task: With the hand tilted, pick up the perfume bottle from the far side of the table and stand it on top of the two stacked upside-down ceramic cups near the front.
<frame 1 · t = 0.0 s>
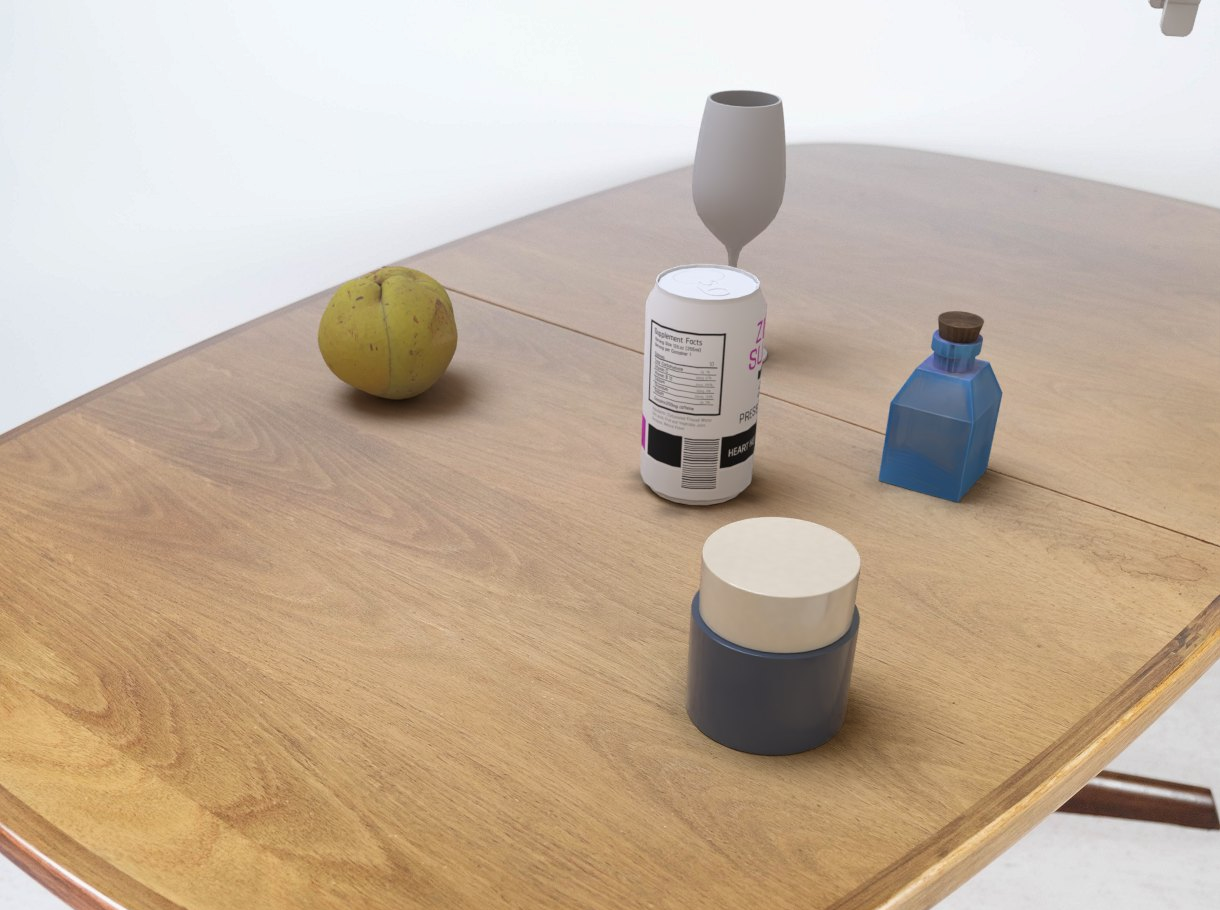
hand: (1167, 20, 84), 30 cm above the table, tool pointing down, fingers open, 8 cm apart
fruit: (395, 395, 110), on the table
wineglass: (726, 355, 118), on the table
perfume bottle: (932, 477, 100), on the table
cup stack: (764, 705, 77), on the table
supplement can: (695, 485, 99), on the table
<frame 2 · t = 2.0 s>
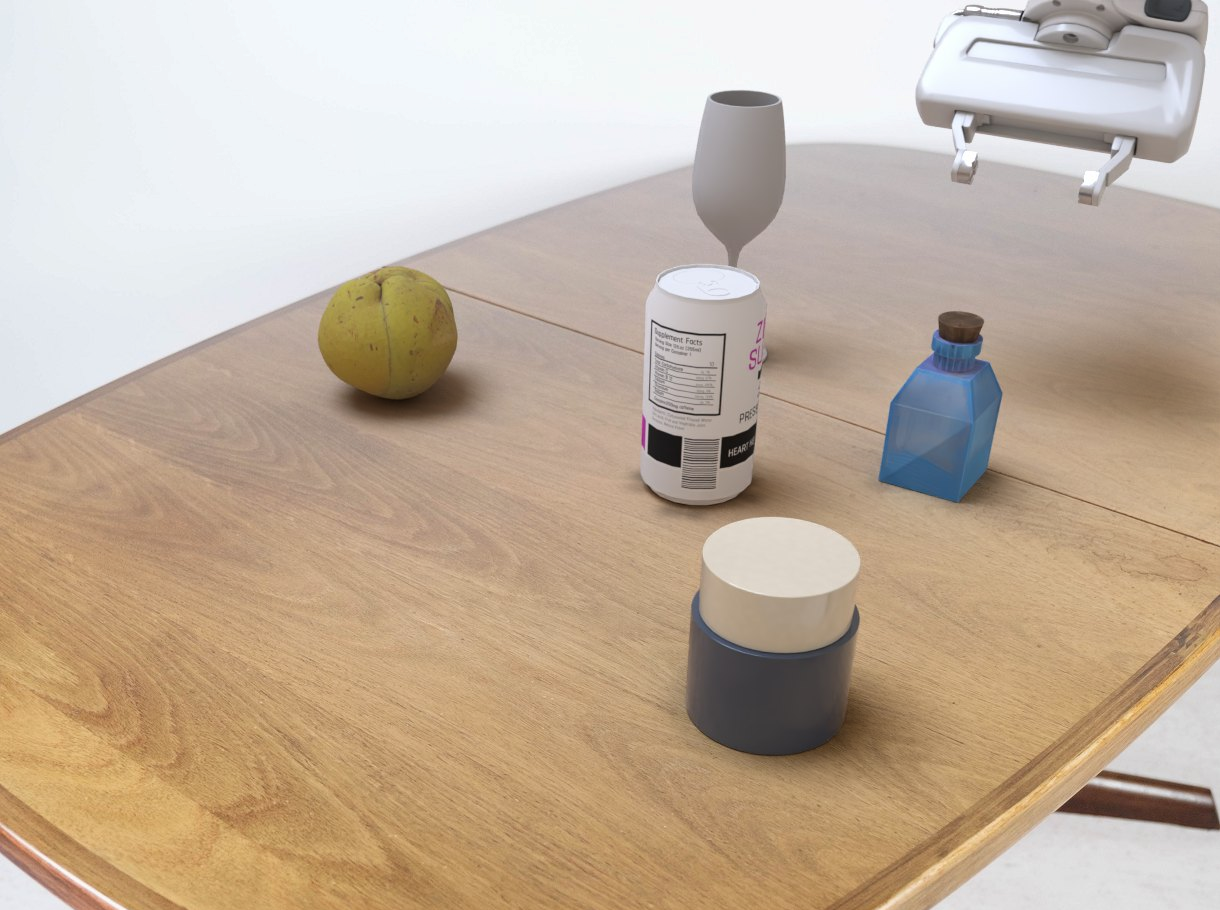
hand: (1023, 190, 98), 18 cm above the table, tool tilted 45°, fingers open, 8 cm apart
nothing on the table moved.
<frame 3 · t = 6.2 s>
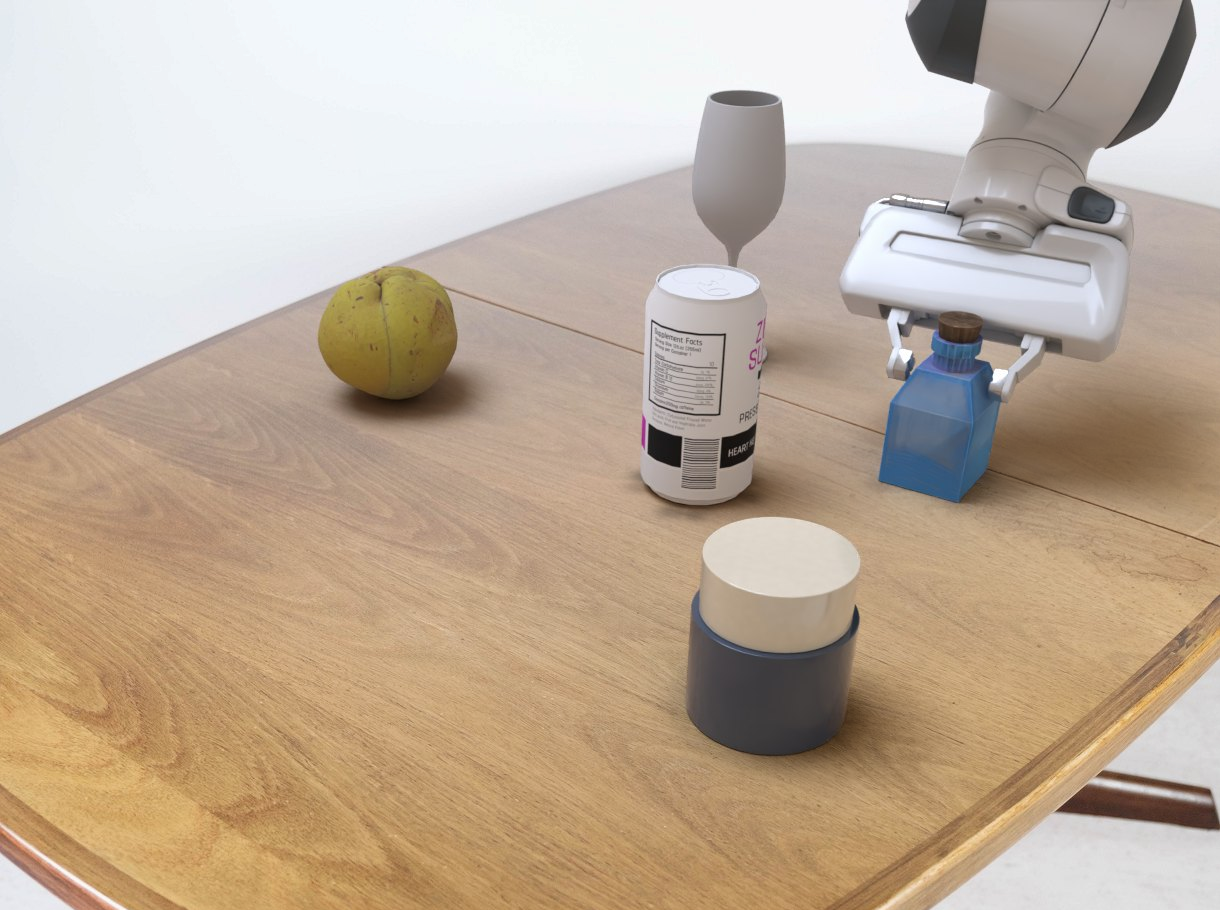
hand: (947, 387, 95), 7 cm above the table, tool tilted 45°, fingers closed on perfume bottle, 6 cm apart
perfume bottle: (932, 477, 100), on the table, touching gripper
everything else where it was.
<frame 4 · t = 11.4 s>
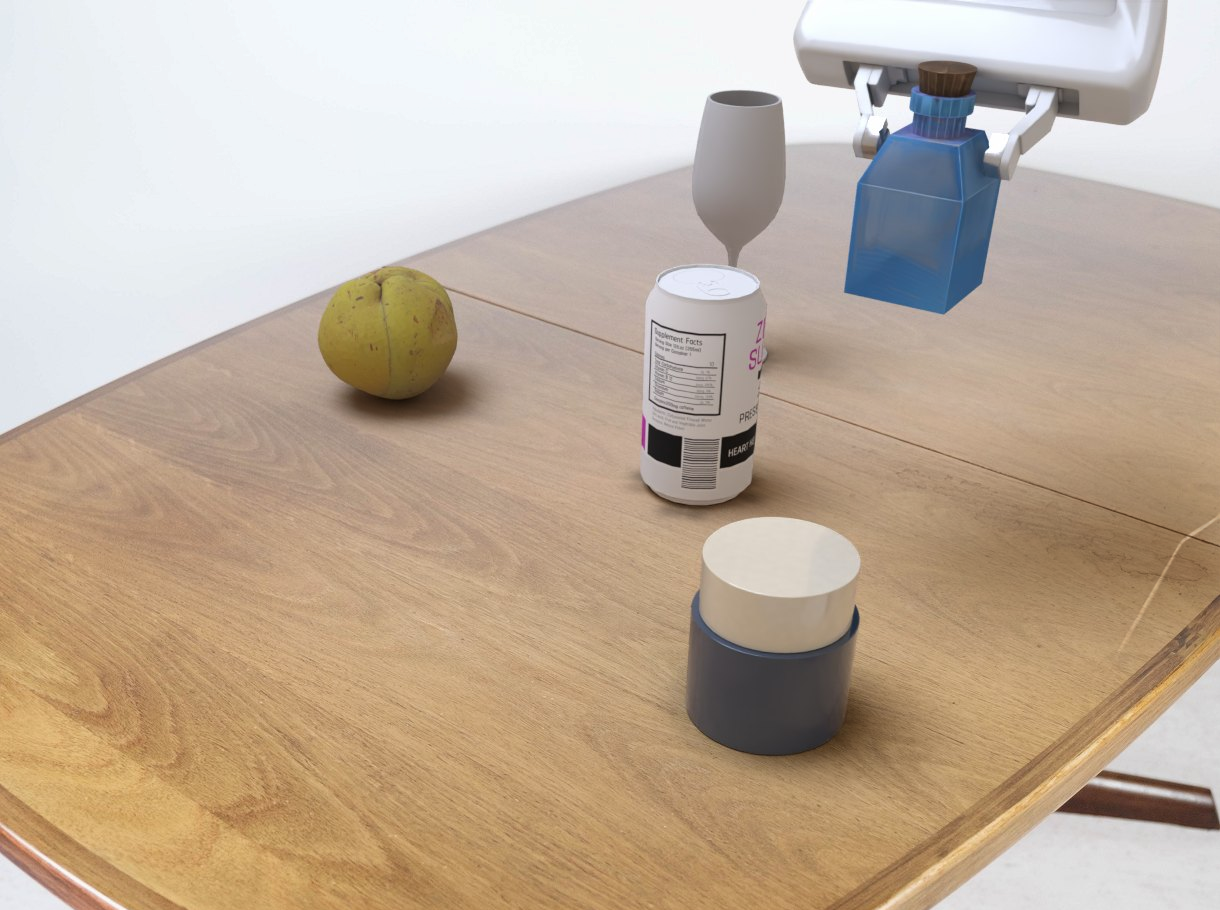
hand: (930, 163, 74), 26 cm above the table, tool tilted 45°, fingers closed on perfume bottle, 6 cm apart
perfume bottle: (913, 291, 79), point 18 cm above the table, touching gripper
everything else where it was.
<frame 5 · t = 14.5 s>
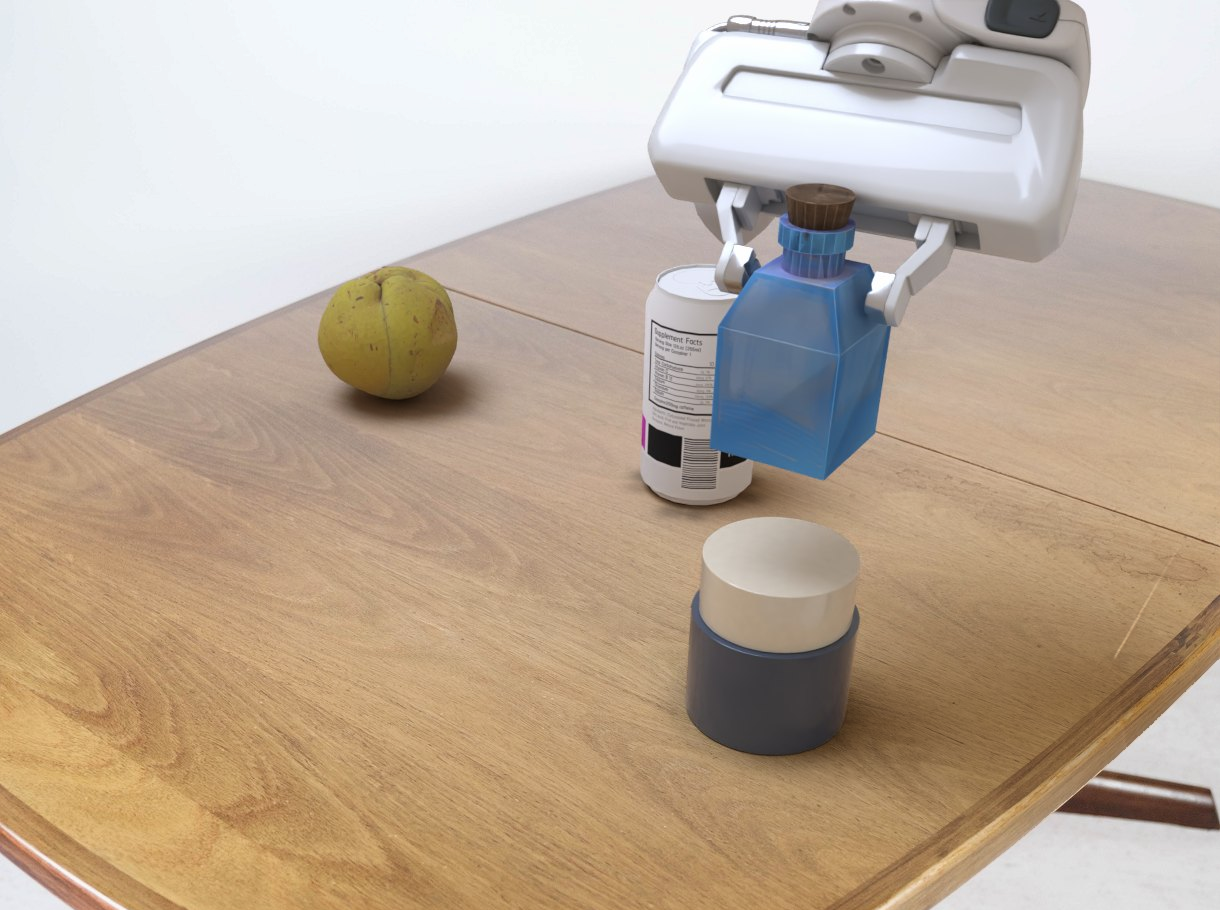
hand: (804, 303, 62), 24 cm above the table, tool tilted 45°, fingers closed on perfume bottle, 6 cm apart
perfume bottle: (792, 444, 67), point 16 cm above the table, touching gripper
everything else where it was.
when the fingers open (17 cm above the table, at t = 16.9 s): perfume bottle stays where it is, resting on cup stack.
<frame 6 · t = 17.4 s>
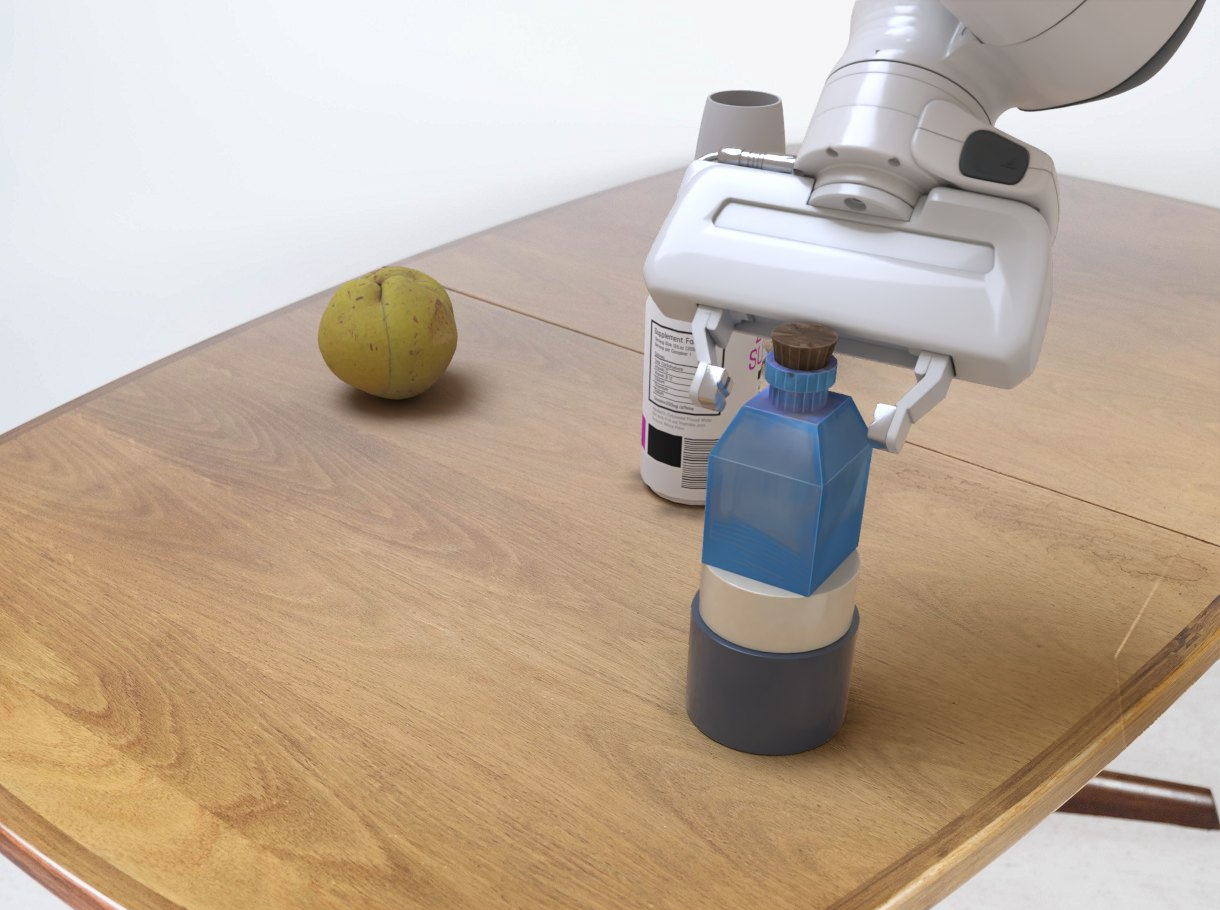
hand: (791, 425, 66), 18 cm above the table, tool tilted 45°, fingers open, 8 cm apart
perfume bottle: (780, 557, 71), point 10 cm above the table, touching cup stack
everything else where it was.
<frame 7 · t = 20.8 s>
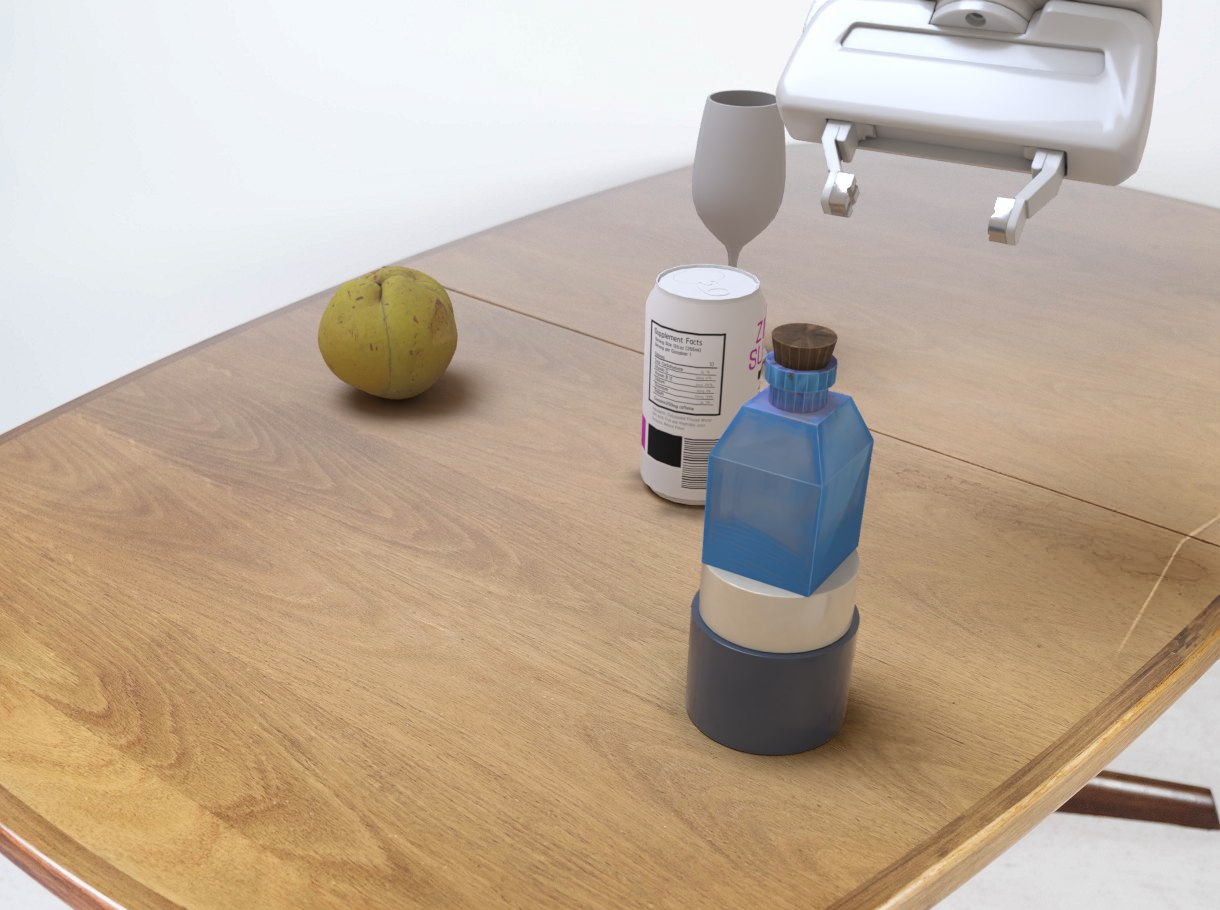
hand: (915, 224, 72), 23 cm above the table, tool tilted 45°, fingers open, 8 cm apart
nothing on the table moved.
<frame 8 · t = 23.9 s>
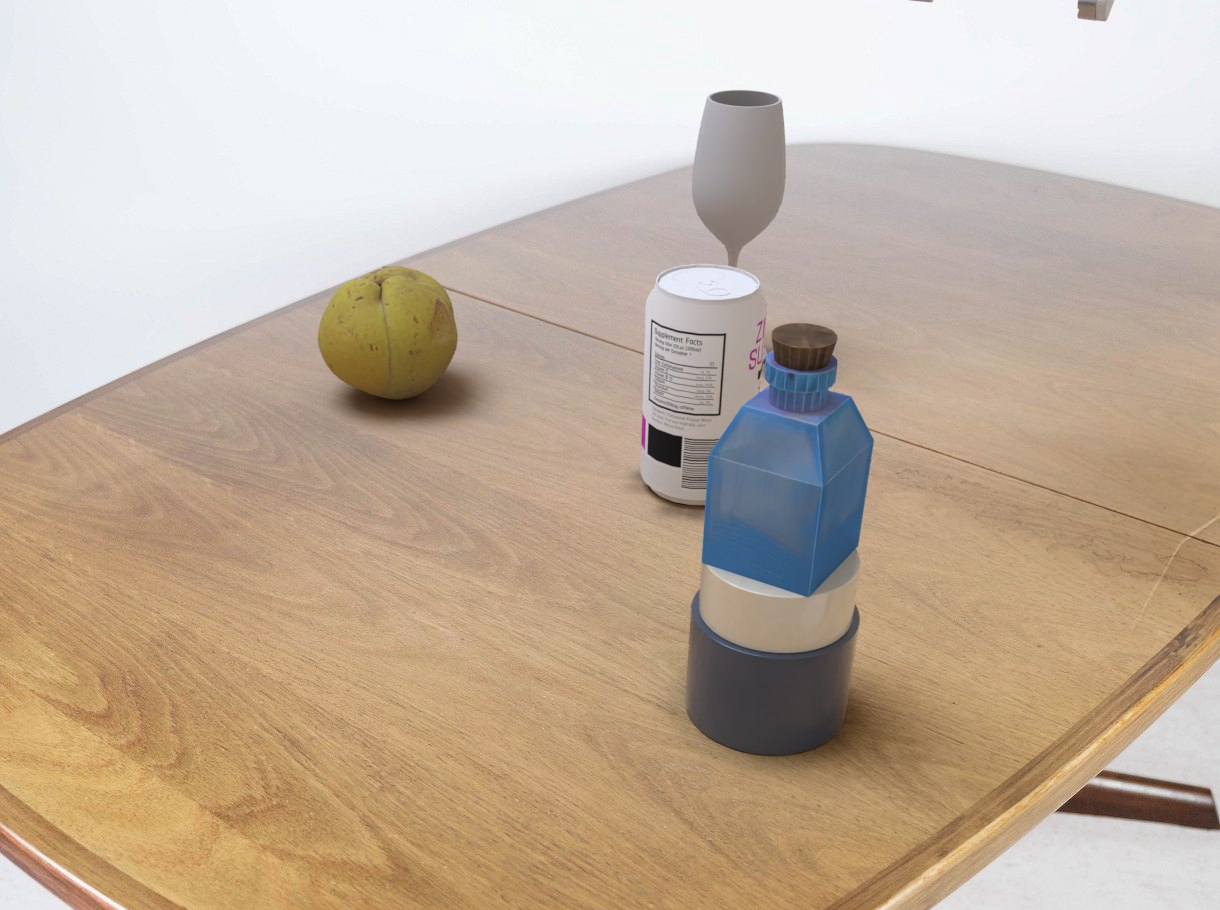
hand: (1001, 3, 71), 33 cm above the table, tool tilted 45°, fingers open, 8 cm apart
nothing on the table moved.
at the end: perfume bottle 0.0 cm off-centre on the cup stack, point 9.8 cm above the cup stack's base; perfume bottle tilted 0°; the gripper is holding nothing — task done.
